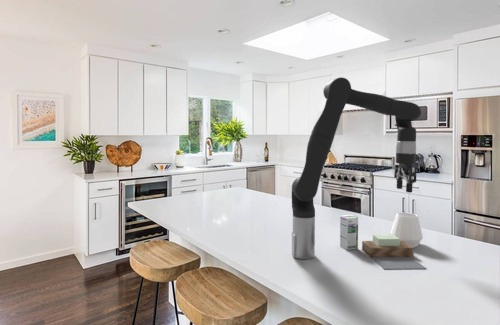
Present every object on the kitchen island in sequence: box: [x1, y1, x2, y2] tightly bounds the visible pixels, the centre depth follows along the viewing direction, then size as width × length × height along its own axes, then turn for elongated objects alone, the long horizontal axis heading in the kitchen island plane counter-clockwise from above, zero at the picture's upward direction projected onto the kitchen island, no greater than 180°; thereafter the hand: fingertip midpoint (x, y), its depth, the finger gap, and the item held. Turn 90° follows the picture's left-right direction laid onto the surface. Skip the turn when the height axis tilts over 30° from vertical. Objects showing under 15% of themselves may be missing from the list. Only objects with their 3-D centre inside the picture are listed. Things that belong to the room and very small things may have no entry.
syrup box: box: [339, 214, 359, 251], centre depth 142 cm, size 6×6×14 cm
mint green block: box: [372, 233, 400, 246], centre depth 136 cm, size 9×6×3 cm, turn 90°
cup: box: [390, 211, 423, 248], centre depth 146 cm, size 13×13×14 cm
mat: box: [372, 257, 427, 270], centre depth 125 cm, size 16×11×1 cm
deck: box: [361, 240, 415, 259], centre depth 135 cm, size 18×9×4 cm, turn 90°
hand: (404, 190), depth 133 cm, fingers open, 8 cm apart
